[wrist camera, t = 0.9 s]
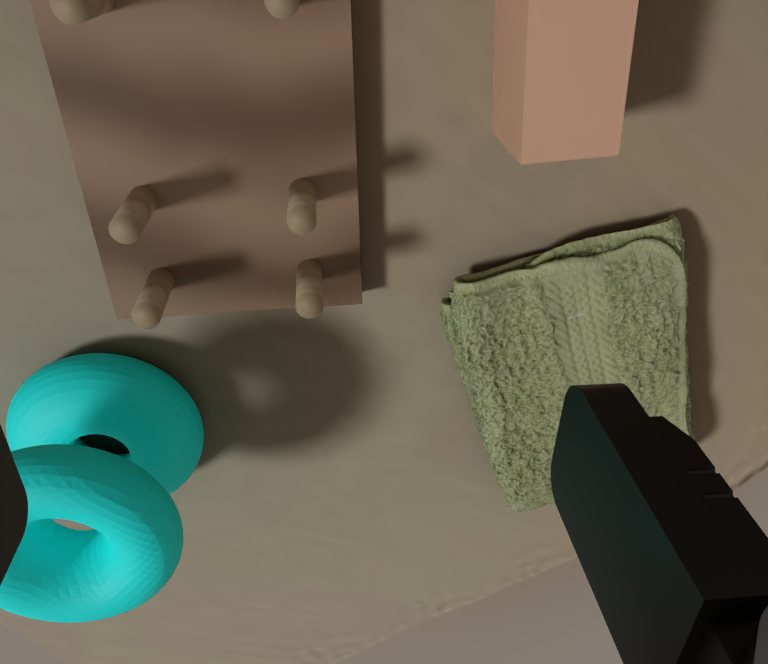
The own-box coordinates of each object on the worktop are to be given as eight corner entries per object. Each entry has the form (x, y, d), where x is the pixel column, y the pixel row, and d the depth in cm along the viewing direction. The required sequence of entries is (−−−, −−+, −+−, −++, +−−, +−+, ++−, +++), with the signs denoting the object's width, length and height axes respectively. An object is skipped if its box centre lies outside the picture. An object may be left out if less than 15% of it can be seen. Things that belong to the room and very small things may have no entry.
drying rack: (-12, -204, 22) (-83, -232, 18) (340, -205, 23) (347, -233, 19) (123, 306, 33) (97, 359, 29) (360, 292, 34) (367, 341, 30)
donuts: (-116, 581, 27) (1, 440, 24) (-16, 427, 36) (81, 307, 33) (98, 660, 32) (223, 550, 28) (143, 505, 40) (243, 407, 37)
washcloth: (672, 195, 33) (705, 219, 30) (684, 441, 42) (710, 477, 40) (424, 271, 34) (435, 301, 31) (490, 496, 43) (502, 534, 40)
